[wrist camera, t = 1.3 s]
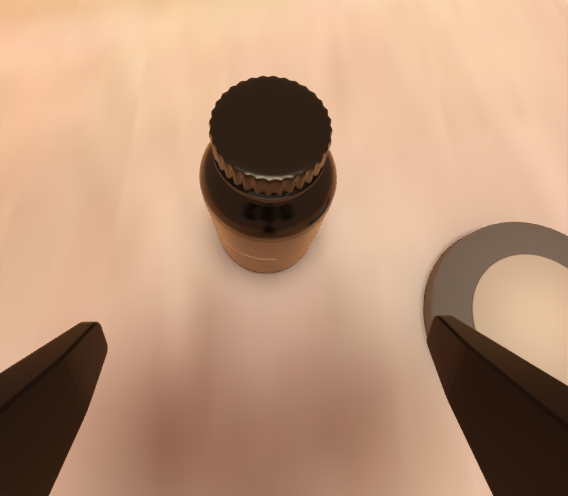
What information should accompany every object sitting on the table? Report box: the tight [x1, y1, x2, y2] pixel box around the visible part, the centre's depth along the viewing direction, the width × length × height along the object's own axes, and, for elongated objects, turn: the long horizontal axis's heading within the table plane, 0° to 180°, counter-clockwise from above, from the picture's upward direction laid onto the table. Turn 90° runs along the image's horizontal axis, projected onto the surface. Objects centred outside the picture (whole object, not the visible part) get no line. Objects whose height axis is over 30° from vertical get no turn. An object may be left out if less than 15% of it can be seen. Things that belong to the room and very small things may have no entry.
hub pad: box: [424, 222, 568, 385], centre depth 22 cm, size 14×14×2 cm
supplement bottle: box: [199, 76, 337, 273], centre depth 18 cm, size 7×7×12 cm
